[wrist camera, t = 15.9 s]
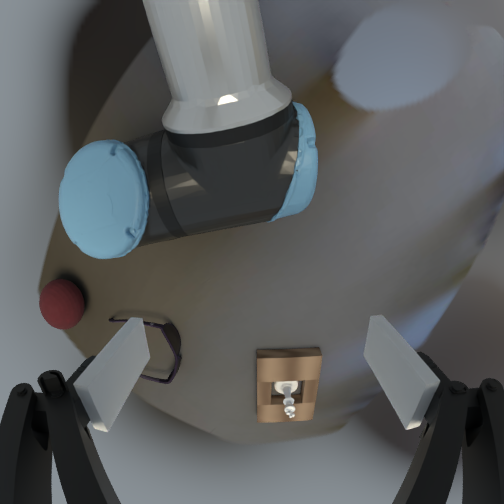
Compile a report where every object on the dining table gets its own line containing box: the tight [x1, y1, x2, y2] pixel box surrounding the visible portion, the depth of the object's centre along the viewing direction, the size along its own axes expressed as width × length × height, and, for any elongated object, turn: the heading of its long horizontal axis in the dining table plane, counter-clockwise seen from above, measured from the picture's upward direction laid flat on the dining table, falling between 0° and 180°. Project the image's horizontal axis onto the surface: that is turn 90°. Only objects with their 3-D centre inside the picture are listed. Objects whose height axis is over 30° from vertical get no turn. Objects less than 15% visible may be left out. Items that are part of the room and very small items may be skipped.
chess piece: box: [274, 381, 298, 418], centre depth 47 cm, size 5×5×10 cm
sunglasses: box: [109, 318, 181, 384], centre depth 48 cm, size 14×16×5 cm
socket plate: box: [257, 347, 322, 422], centre depth 51 cm, size 12×18×3 cm, turn 1°
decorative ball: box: [39, 279, 84, 329], centre depth 44 cm, size 10×10×10 cm
